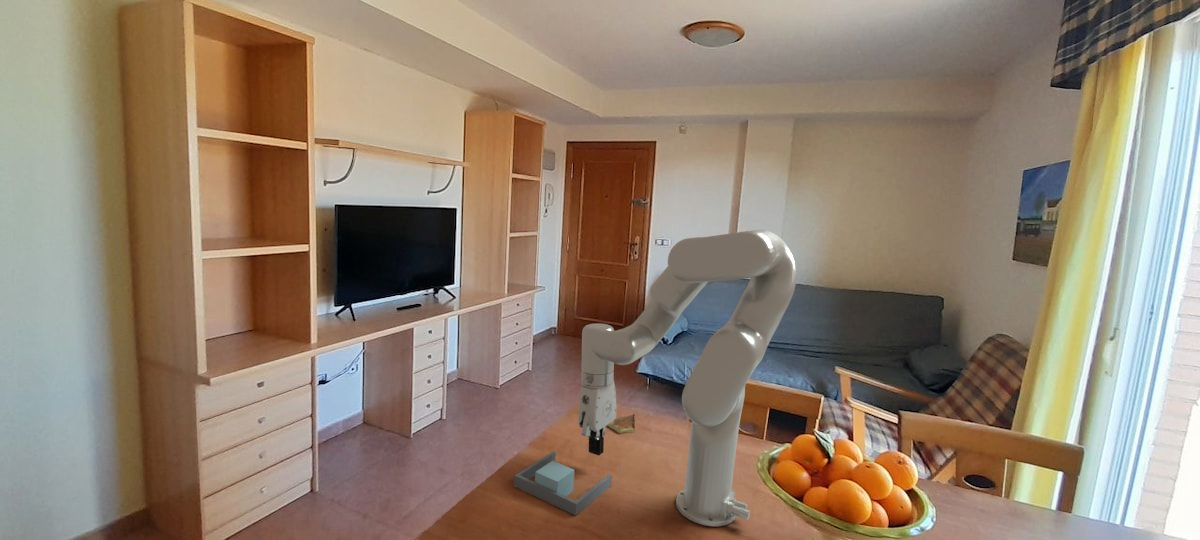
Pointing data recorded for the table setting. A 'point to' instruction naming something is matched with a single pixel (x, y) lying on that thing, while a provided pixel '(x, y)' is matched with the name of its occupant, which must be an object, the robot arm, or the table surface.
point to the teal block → (556, 477)
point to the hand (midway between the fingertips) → (595, 452)
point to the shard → (623, 424)
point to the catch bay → (553, 497)
